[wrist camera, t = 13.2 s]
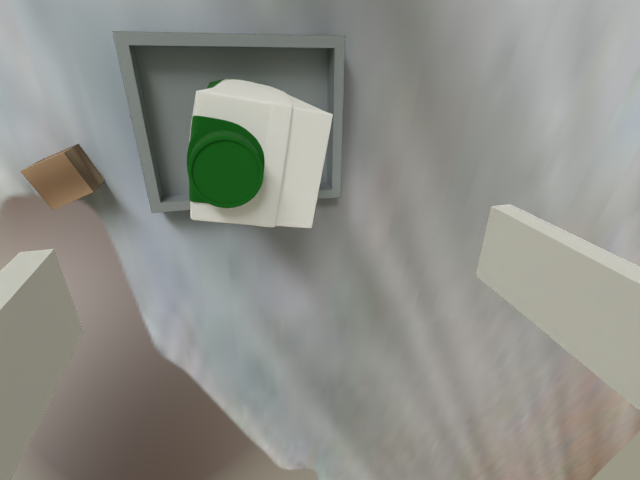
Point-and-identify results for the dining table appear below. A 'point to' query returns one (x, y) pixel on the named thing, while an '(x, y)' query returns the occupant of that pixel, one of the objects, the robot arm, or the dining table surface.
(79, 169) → the walnut block
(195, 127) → the soya milk
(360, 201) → the dining table surface
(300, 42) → the tray
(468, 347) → the dining table surface
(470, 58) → the dining table surface
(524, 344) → the dining table surface
